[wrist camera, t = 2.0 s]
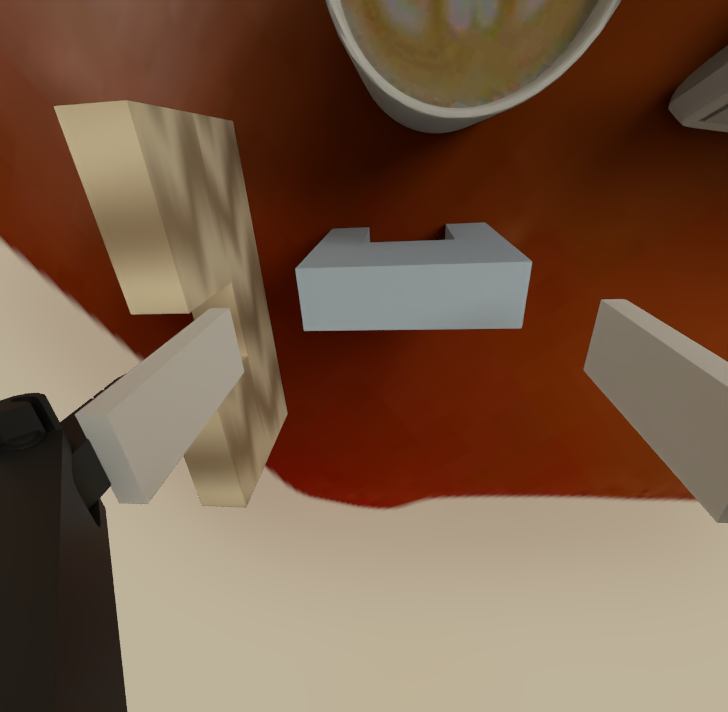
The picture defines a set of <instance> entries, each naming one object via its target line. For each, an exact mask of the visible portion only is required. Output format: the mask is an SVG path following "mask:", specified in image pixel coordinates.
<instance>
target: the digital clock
mask: <svg viewBox="0 0 728 712" xmlns="http://www.w3.org/2000/svg"><path fill="white" fill-rule="evenodd" d="M668 109H669V111H670V112H671V113H672V114H673V116H674V117H675V118H676V119H677V120H678V121H679V122H680V123H681V124H682V125H683V126H686V127H691V128H698V129H706V130H714V131H722V132H728V45H727V46H726V47H725V48H723V49H722V50H721V51H719V52H718V53H717V54H715V55H714V56H713V57H711V58H710V59H709V60H707V61H706V62H705V63H704V64H702V65H701V66H700V67H699V68H697V69H696V70H695V71H694V72H693V73H691V74H690V75H689V76H688V77H687V78H686V79H685V80H684V81H683V82H682V83H681V84H680V85H679V87H678V88H677V89H676V91H675V92H674V94H673V95H672V97H671V100H670V103H669V106H668Z"/></svg>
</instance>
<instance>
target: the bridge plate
mask: <svg viewBox="0 0 728 712" xmlns="http://www.w3.org/2000/svg"><path fill="white" fill-rule="evenodd" d="M531 266H532V261H531V260H530V259H529V258H527V257H526V256H525V255H524V254H523V253H521V252H520V251H519V250H518V249H517V248H515V247H514V246H513V245H512V244H510V243H509V242H508V241H507V240H506V239H504V238H503V237H502V236H501V235H500V234H498V233H497V232H496V231H495V230H494V229H492V228H491V227H490V226H489V225H488V224H486V223H485V222H483V223H459V224H446V228H445V240H426V241H399V242H372V243H370V230H369V227H362V228H338V229H332V230H331V231H330V232H329V233H328V234H327V235H326V236H325V237H324V238H323V239H322V240H321V242H320V243H319V244H318V245H317V246H316V247H315V248H314V249H313V250H312V251H311V252H310V253H309V254H308V255H307V257H306V258H305V259H304V260H303V261H302V262H301V263H300V264H299V265H298V266H297V267H296V268H295V271H296V278H297V285H298V292H299V299H300V306H301V313H302V321H303V328H304V331H342V330H423V329H504V328H522V323H523V317H524V310H525V304H526V298H527V291H528V285H529V279H530V272H531Z"/></svg>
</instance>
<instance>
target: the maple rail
mask: <svg viewBox="0 0 728 712" xmlns="http://www.w3.org/2000/svg"><path fill="white" fill-rule="evenodd" d="M54 109H55V112H56V114H57V117H58V120H59V122H60V125H61V128H62V130H63V133H64V136H65V138H66V141H67V144H68V146H69V149H70V152H71V155H72V157H73V160H74V163H75V165H76V168H77V171H78V173H79V176H80V179H81V181H82V184H83V187H84V189H85V192H86V195H87V198H88V200H89V203H90V206H91V208H92V211H93V214H94V216H95V219H96V222H97V224H98V227H99V230H100V232H101V235H102V238H103V241H104V243H105V246H106V249H107V251H108V254H109V257H110V259H111V262H112V265H113V267H114V270H115V273H116V275H117V278H118V281H119V283H120V286H121V289H122V292H123V294H124V297H125V300H126V302H127V305H128V308H129V310H130V313H131V314H181V313H190V312H192V314H193V318H194V320H196V319H197V318H198V317H200V316H201V315H202V314H203V313H205V312H206V311H207V310H209V309H210V308H230V311H231V316H232V320H233V324H234V329H235V333H236V337H237V342H238V346H239V350H240V355H241V359H242V363H243V368H244V373H243V374H242V376H241V377H240V379H239V380H238V381H237V383H236V384H235V385H234V387H233V388H232V390H231V391H230V392H229V394H228V395H227V396H226V398H225V399H224V400H223V402H222V403H221V405H220V406H219V407H218V409H217V410H216V411H215V413H214V414H213V416H212V417H211V418H210V420H209V421H208V422H207V424H206V425H205V426H204V428H203V429H202V431H201V432H200V433H199V435H198V436H197V437H196V439H195V440H194V441H193V443H192V444H191V446H190V447H189V448H188V450H187V451H186V452H185V454H184V458H185V461H186V463H187V466H188V468H189V472H190V474H191V477H192V480H193V482H194V485H195V487H196V490H197V493H198V496H199V498H200V501H201V503H202V506H221V507H247V504H248V502H249V500H250V497H251V495H252V493H253V491H254V489H255V486H256V484H257V482H258V479H259V477H260V475H261V473H262V470H263V468H264V466H265V464H266V461H267V459H268V457H269V455H270V452H271V450H272V448H273V446H274V443H275V441H276V439H277V436H278V434H279V432H280V430H281V427H282V425H283V423H284V421H285V418H286V416H287V408H286V403H285V397H284V392H283V387H282V381H281V376H280V371H279V365H278V360H277V354H276V349H275V344H274V338H273V333H272V328H271V322H270V317H269V311H268V306H267V301H266V295H265V290H264V285H263V279H262V274H261V268H260V263H259V258H258V252H257V247H256V242H255V236H254V231H253V225H252V220H251V215H250V209H249V204H248V199H247V193H246V188H245V182H244V177H243V172H242V166H241V161H240V156H239V150H238V145H237V139H236V134H235V129H234V123H233V121H231V120H225V119H220V118H215V117H210V116H205V115H200V114H195V113H190V112H184V111H179V110H174V109H169V108H164V107H159V106H154V105H149V104H143V103H138V102H133V101H128V100H123V101H111V102H99V103H87V104H75V105H62V106H54Z"/></svg>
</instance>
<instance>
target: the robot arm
mask: <svg viewBox="0 0 728 712" xmlns="http://www.w3.org/2000/svg"><path fill="white" fill-rule="evenodd" d="M584 371H585V373H586V374H587V375H588V376H589V377H590V378H591V379H592V381H593V382H594V383H595V384H596V385H597V386H598V387H599V388H600V390H601V391H602V392H603V393H604V394H605V395H606V396H607V398H608V399H609V400H610V401H611V402H612V403H613V404H614V406H615V407H616V408H617V409H618V410H619V411H620V412H621V414H622V415H623V416H624V417H625V418H626V419H627V420H628V422H629V423H630V424H631V425H632V426H633V427H634V428H635V430H636V431H637V432H638V433H639V434H640V435H641V436H642V437H643V439H644V440H645V441H646V442H647V443H648V444H649V445H650V447H651V448H652V449H653V450H654V451H655V452H656V453H657V455H658V456H659V457H660V458H661V459H662V460H663V461H664V463H665V464H666V465H667V466H668V467H669V468H670V469H671V471H672V472H673V473H674V474H675V475H676V476H677V477H678V478H679V480H680V481H681V482H682V483H683V484H684V485H685V486H686V488H687V489H688V490H689V491H690V492H691V493H692V494H693V496H694V497H695V498H696V499H697V500H698V501H699V502H700V504H701V505H702V506H703V507H704V508H705V509H706V510H707V511H708V512H709V514H710V515H711V516H712V517H713V518H714V519H715V521H716V522H718V523H728V362H727V361H725V360H724V359H722V358H720V357H719V356H717V355H715V354H714V353H712V352H710V351H709V350H707V349H706V348H704V347H702V346H701V345H699V344H697V343H696V342H694V341H693V340H691V339H689V338H688V337H686V336H684V335H683V334H681V333H680V332H678V331H676V330H675V329H673V328H671V327H670V326H668V325H667V324H665V323H663V322H662V321H660V320H658V319H657V318H655V317H654V316H652V315H650V314H649V313H647V312H645V311H644V310H642V309H640V308H639V307H637V306H636V305H634V304H632V303H631V302H629V301H627V300H626V299H605V300H601V302H600V306H599V310H598V314H597V318H596V322H595V326H594V330H593V334H592V338H591V342H590V346H589V350H588V354H587V358H586V362H585V366H584ZM243 373H244V368H243V363H242V359H241V355H240V350H239V346H238V342H237V337H236V333H235V329H234V324H233V320H232V316H231V311H230V308H210V309H209V310H207V311H206V312H205V313H203V314H202V315H201V316H200V317H198V318H197V319H196V320H194V321H193V322H192V323H191V324H189V325H188V326H187V327H186V328H184V329H183V330H182V331H180V332H179V333H178V334H177V335H175V336H174V337H173V338H172V339H170V340H169V341H168V342H166V343H165V344H164V345H163V346H161V347H160V348H159V349H157V350H156V351H155V352H154V353H152V354H151V355H150V356H149V357H147V358H146V359H145V360H143V361H142V362H141V363H140V364H138V365H137V366H136V367H134V368H133V369H132V370H131V371H129V372H128V373H127V374H125V375H123V376H121V377H119V378H117V379H116V380H114V381H113V382H112V383H110V384H109V385H108V386H107V387H105V388H104V390H101V391H100V392H99V393H97V394H96V395H95V396H94V399H90V400H88V401H87V402H86V403H85V404H83V405H82V406H81V407H79V408H78V409H77V410H76V411H74V412H73V413H72V414H70V415H69V416H68V417H67V418H65V419H64V420H63V421H61V422H59V420H58V418H57V416H56V415H55V413H54V411H53V409H52V407H51V405H50V403H49V401H48V400H47V398H46V396H45V395H44V394H40V393H28V394H23V395H17V396H13V397H10V398H7V399H4V400H1V401H0V712H127V706H126V696H125V687H124V677H123V668H122V658H121V649H120V640H119V630H118V621H117V612H116V603H115V594H114V585H113V575H112V565H111V556H110V547H109V538H108V528H107V519H106V510H105V507H104V505H103V503H102V501H101V499H100V497H101V496H102V495H103V494H104V493H105V492H106V491H107V489H108V488H109V487H110V486H111V487H112V490H113V492H114V494H115V496H116V498H117V499H118V502H119V503H128V504H129V503H130V504H148V503H149V502H150V500H151V499H152V498H153V496H154V495H155V493H156V492H157V491H158V489H159V488H160V487H161V485H162V484H163V483H164V481H165V480H166V478H167V477H168V476H169V474H170V473H171V472H172V470H173V469H174V467H175V466H176V465H177V463H178V462H179V461H180V459H181V458H182V457H183V455H184V454H185V452H186V451H187V450H188V448H189V447H190V446H191V444H192V443H193V441H194V440H195V439H196V437H197V436H198V435H199V433H200V432H201V431H202V429H203V428H204V426H205V425H206V424H207V422H208V421H209V420H210V418H211V417H212V416H213V414H214V413H215V411H216V410H217V409H218V407H219V406H220V405H221V403H222V402H223V400H224V399H225V398H226V396H227V395H228V394H229V392H230V391H231V390H232V388H233V387H234V385H235V384H236V383H237V381H238V380H239V379H240V377H241V376H242V374H243Z"/></svg>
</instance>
